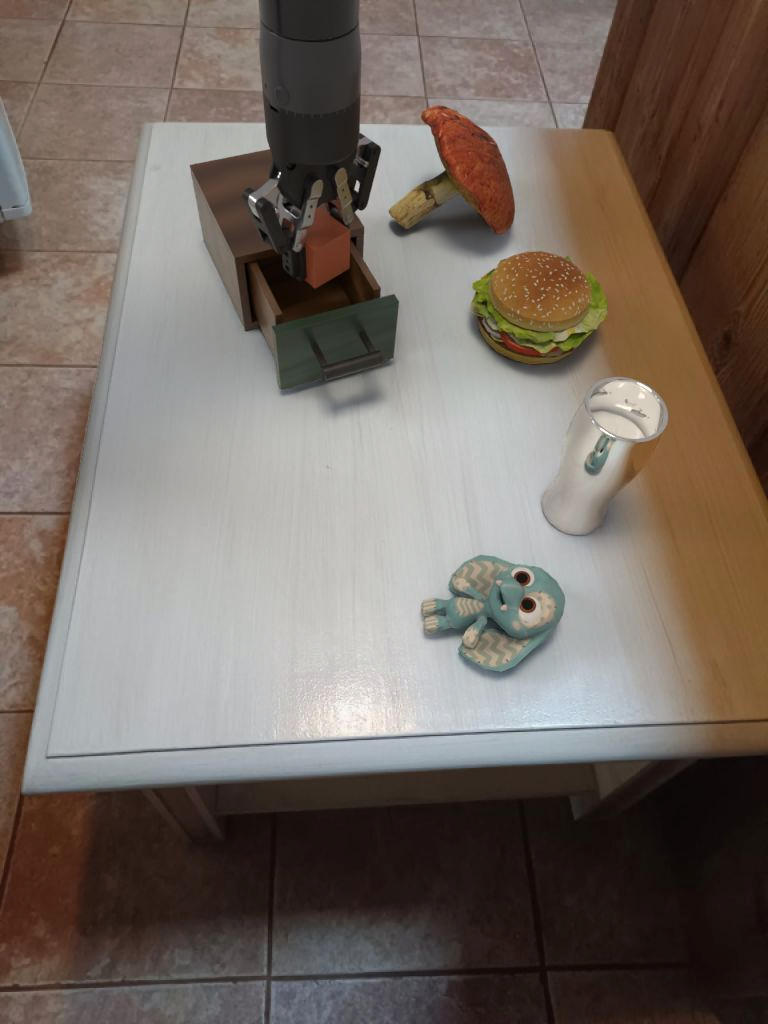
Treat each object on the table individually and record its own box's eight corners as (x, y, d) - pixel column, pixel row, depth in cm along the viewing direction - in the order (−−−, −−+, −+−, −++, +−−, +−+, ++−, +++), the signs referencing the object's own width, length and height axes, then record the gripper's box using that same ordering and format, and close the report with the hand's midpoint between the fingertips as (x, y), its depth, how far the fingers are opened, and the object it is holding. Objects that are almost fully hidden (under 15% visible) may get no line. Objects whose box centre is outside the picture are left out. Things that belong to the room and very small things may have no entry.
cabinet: (361, 300, 82) (364, 227, 74) (245, 331, 79) (234, 257, 71) (312, 216, 90) (310, 140, 81) (203, 241, 86) (189, 164, 78)
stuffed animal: (410, 538, 60) (554, 517, 60) (418, 575, 66) (548, 556, 66) (425, 662, 55) (584, 641, 54) (432, 689, 61) (575, 671, 60)
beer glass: (550, 467, 72) (597, 362, 59) (617, 495, 70) (680, 394, 58) (526, 521, 68) (570, 422, 55) (596, 551, 67) (658, 457, 54)
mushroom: (384, 243, 81) (519, 219, 78) (364, 96, 78) (503, 65, 76) (403, 262, 96) (516, 243, 94) (386, 140, 94) (503, 116, 91)
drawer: (410, 387, 75) (417, 331, 68) (295, 421, 72) (291, 366, 65) (342, 270, 83) (343, 210, 77) (237, 296, 80) (227, 236, 74)
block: (315, 289, 68) (313, 250, 64) (285, 264, 70) (282, 225, 66) (349, 268, 70) (350, 229, 66) (319, 245, 71) (318, 206, 68)
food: (514, 394, 76) (531, 340, 70) (447, 308, 83) (457, 250, 76) (617, 354, 80) (643, 299, 73) (546, 275, 86) (564, 217, 80)
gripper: (348, 33, 59) (345, 215, 74) (204, 92, 53) (233, 276, 68) (412, 72, 56) (397, 252, 71) (269, 139, 51) (284, 320, 65)
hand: (316, 263), depth 69 cm, fingers closed on block, 4 cm apart
